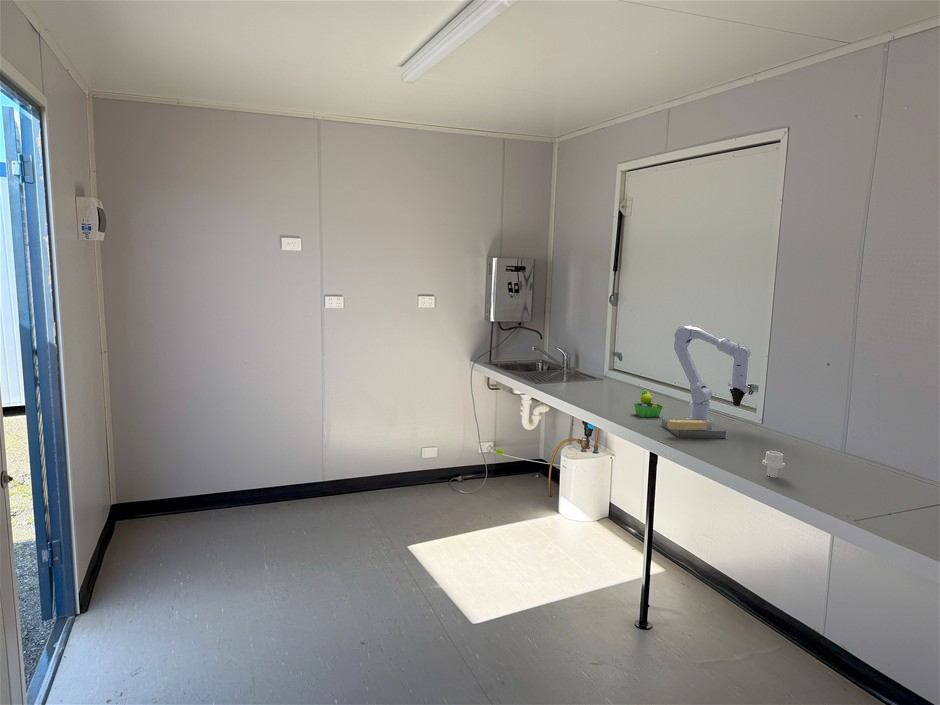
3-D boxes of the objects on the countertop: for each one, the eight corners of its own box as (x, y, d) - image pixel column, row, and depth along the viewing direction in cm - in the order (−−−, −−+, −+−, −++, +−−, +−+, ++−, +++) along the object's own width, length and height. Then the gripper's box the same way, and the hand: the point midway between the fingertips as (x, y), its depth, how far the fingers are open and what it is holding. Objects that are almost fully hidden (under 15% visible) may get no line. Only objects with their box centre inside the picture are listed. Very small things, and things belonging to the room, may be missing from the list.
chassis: (661, 425, 274) (662, 417, 274) (705, 426, 276) (706, 418, 275) (678, 437, 256) (679, 429, 255) (726, 438, 258) (727, 430, 257)
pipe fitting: (758, 475, 213) (761, 452, 212) (765, 471, 218) (768, 448, 217) (778, 480, 209) (781, 457, 207) (785, 476, 214) (788, 453, 213)
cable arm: (708, 427, 260) (709, 420, 260) (713, 430, 256) (714, 422, 256) (666, 426, 258) (667, 419, 258) (671, 429, 254) (671, 422, 254)
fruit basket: (640, 417, 286) (642, 393, 285) (631, 413, 295) (633, 389, 293) (662, 417, 289) (665, 393, 287) (653, 412, 297) (655, 389, 296)
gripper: (757, 377, 263) (754, 409, 265) (740, 371, 278) (737, 402, 280) (741, 377, 263) (738, 409, 265) (724, 371, 277) (721, 401, 279)
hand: (736, 405), depth 272 cm, fingers closed
